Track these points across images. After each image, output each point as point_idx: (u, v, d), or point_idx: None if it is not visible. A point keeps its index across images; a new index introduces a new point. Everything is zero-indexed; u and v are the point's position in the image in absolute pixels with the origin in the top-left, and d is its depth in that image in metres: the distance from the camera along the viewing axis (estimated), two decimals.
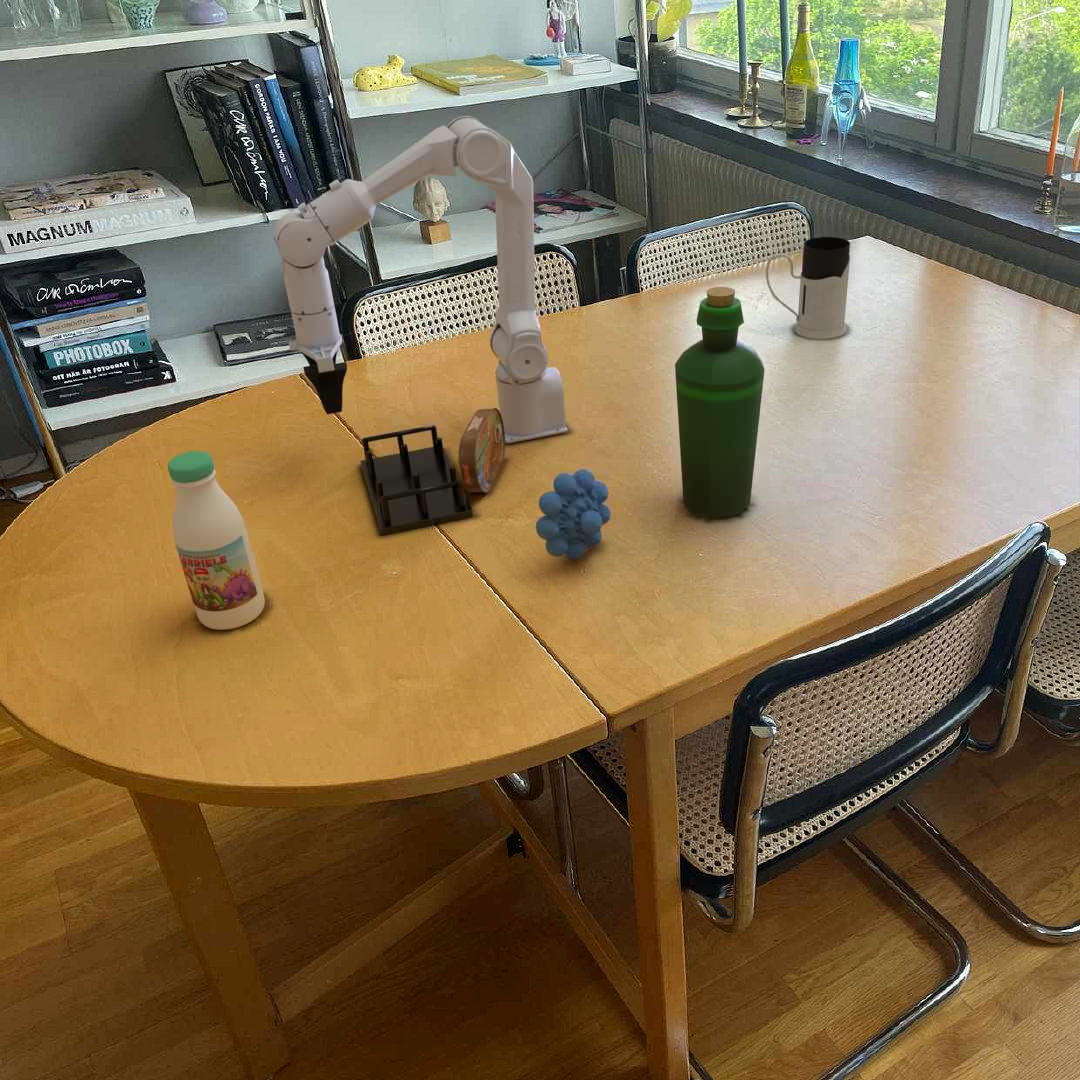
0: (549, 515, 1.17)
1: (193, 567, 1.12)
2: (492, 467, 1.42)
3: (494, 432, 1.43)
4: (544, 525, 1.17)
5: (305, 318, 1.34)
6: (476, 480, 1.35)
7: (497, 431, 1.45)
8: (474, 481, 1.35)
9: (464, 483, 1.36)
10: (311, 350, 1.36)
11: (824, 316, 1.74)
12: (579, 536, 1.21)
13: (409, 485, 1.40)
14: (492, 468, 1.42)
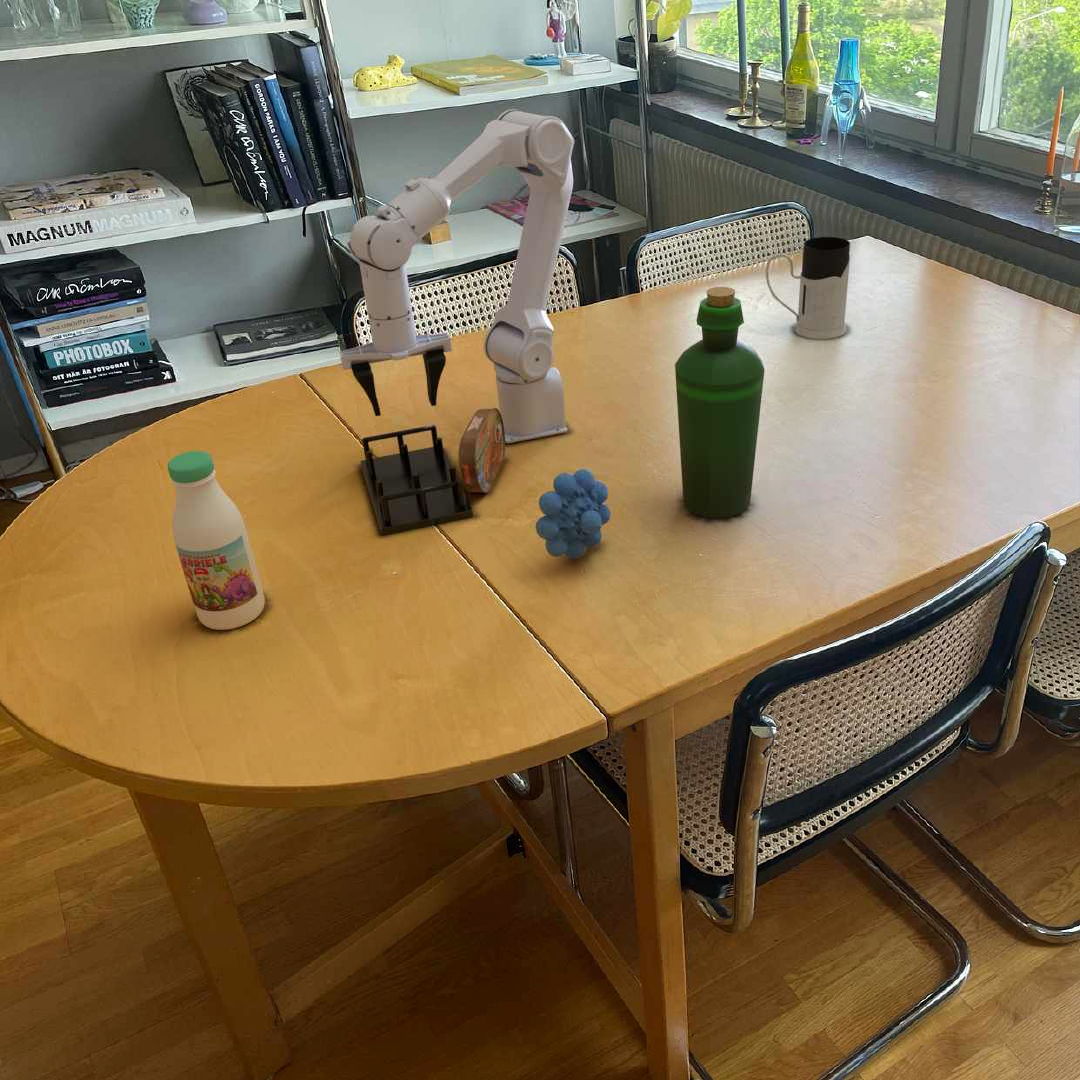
0: (549, 515, 1.17)
1: (193, 567, 1.12)
2: (492, 467, 1.42)
3: (494, 432, 1.43)
4: (544, 525, 1.17)
5: (411, 315, 1.33)
6: (476, 480, 1.35)
7: (497, 431, 1.45)
8: (474, 481, 1.35)
9: (464, 483, 1.36)
10: None
11: (824, 316, 1.74)
12: (579, 536, 1.21)
13: (409, 485, 1.40)
14: (492, 468, 1.42)
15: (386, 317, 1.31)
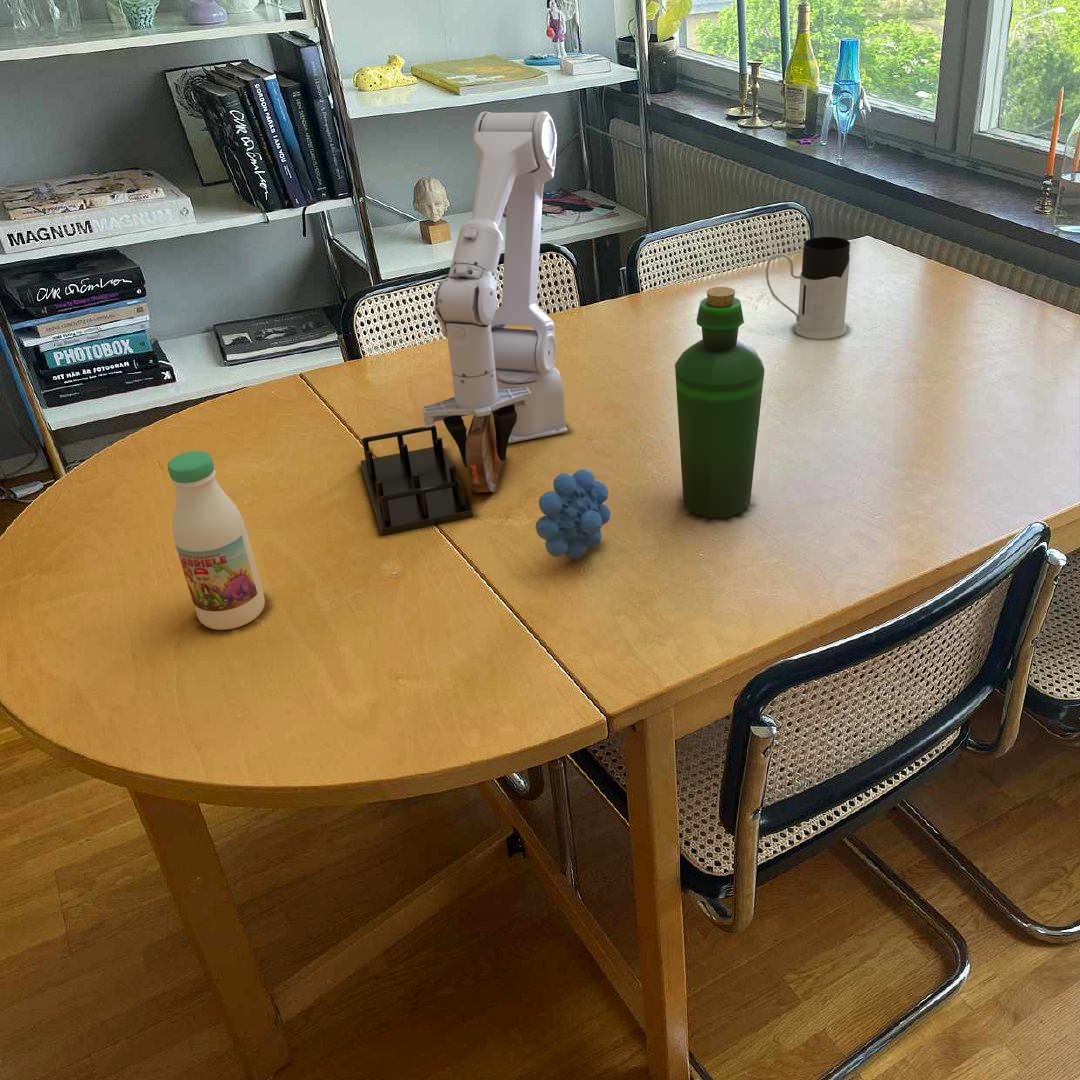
0: (549, 515, 1.17)
1: (193, 567, 1.12)
2: (494, 467, 1.42)
3: (493, 432, 1.43)
4: (544, 525, 1.17)
5: (494, 371, 1.34)
6: (484, 479, 1.35)
7: None
8: (482, 481, 1.35)
9: (472, 483, 1.36)
10: (500, 401, 1.37)
11: (824, 316, 1.74)
12: (579, 536, 1.21)
13: (409, 485, 1.40)
14: (494, 468, 1.42)
15: (483, 372, 1.32)
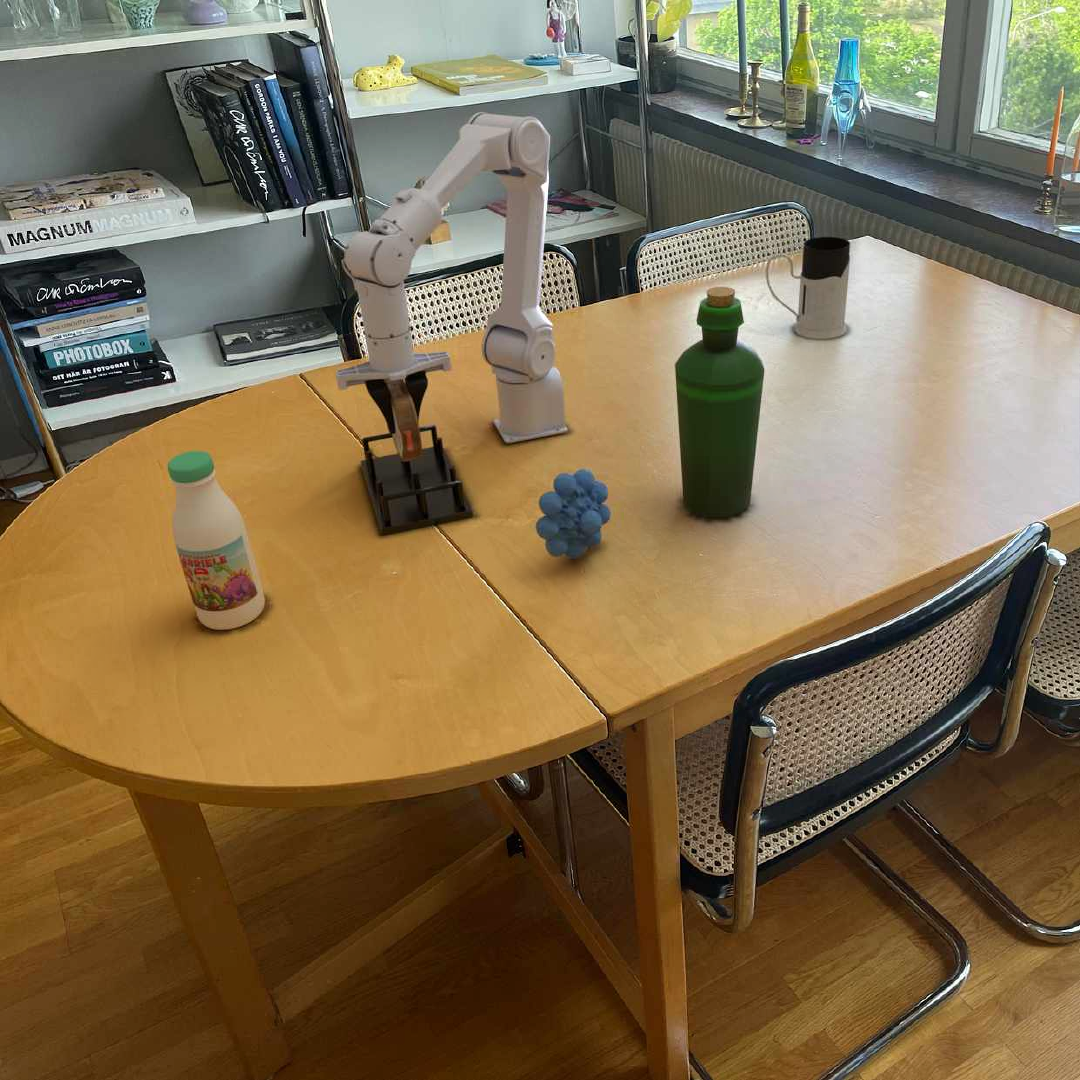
0: (549, 515, 1.17)
1: (193, 567, 1.12)
2: None
3: None
4: (544, 525, 1.17)
5: (409, 333, 1.29)
6: (419, 445, 1.30)
7: None
8: (417, 447, 1.30)
9: (405, 451, 1.30)
10: (417, 365, 1.31)
11: (824, 316, 1.74)
12: (579, 536, 1.21)
13: (409, 485, 1.40)
14: None
15: (388, 335, 1.26)
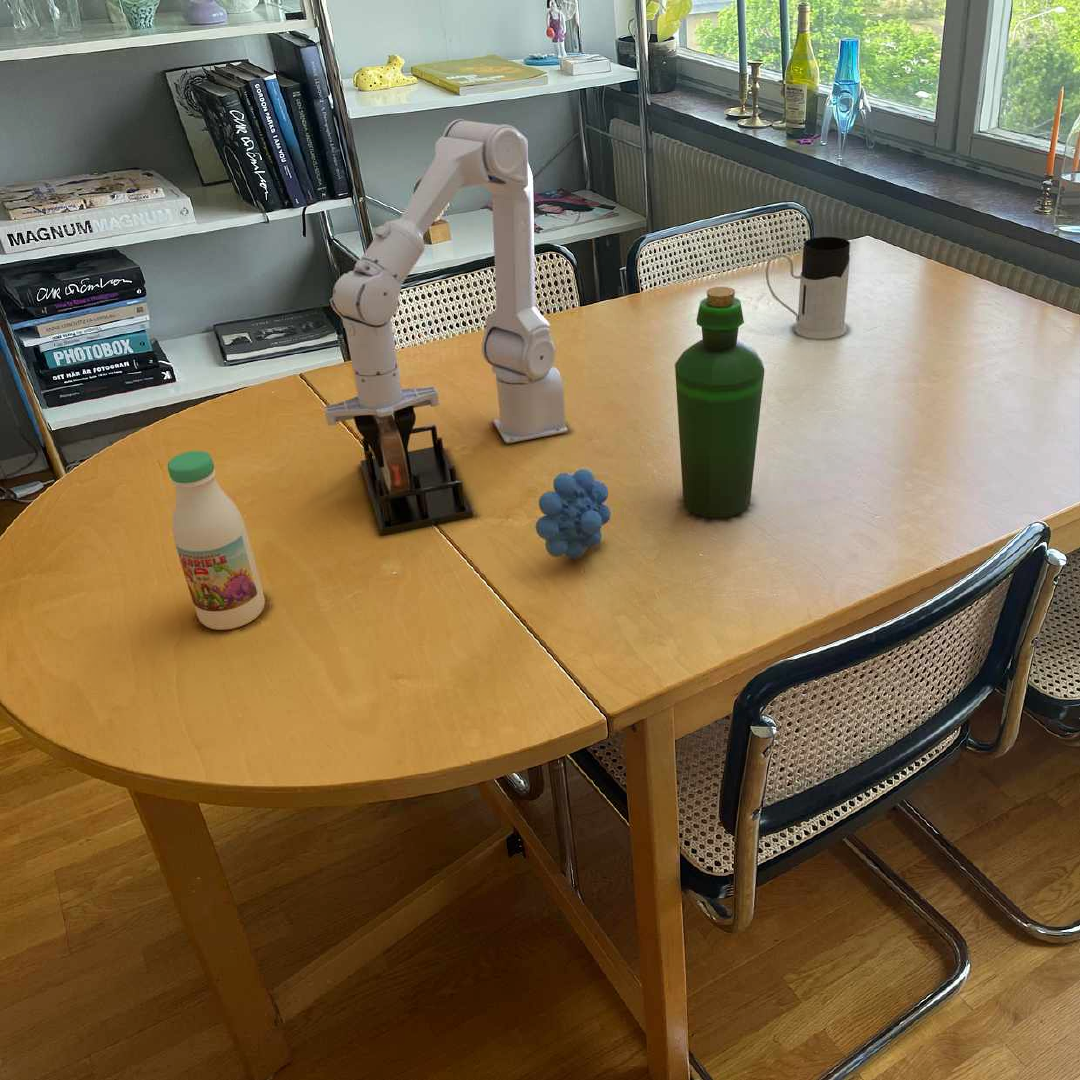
0: (549, 515, 1.17)
1: (193, 567, 1.12)
2: None
3: None
4: (544, 525, 1.17)
5: (397, 370, 1.31)
6: (406, 480, 1.32)
7: None
8: (404, 482, 1.32)
9: (393, 485, 1.32)
10: None
11: (824, 316, 1.74)
12: (579, 536, 1.21)
13: None
14: None
15: (375, 373, 1.28)
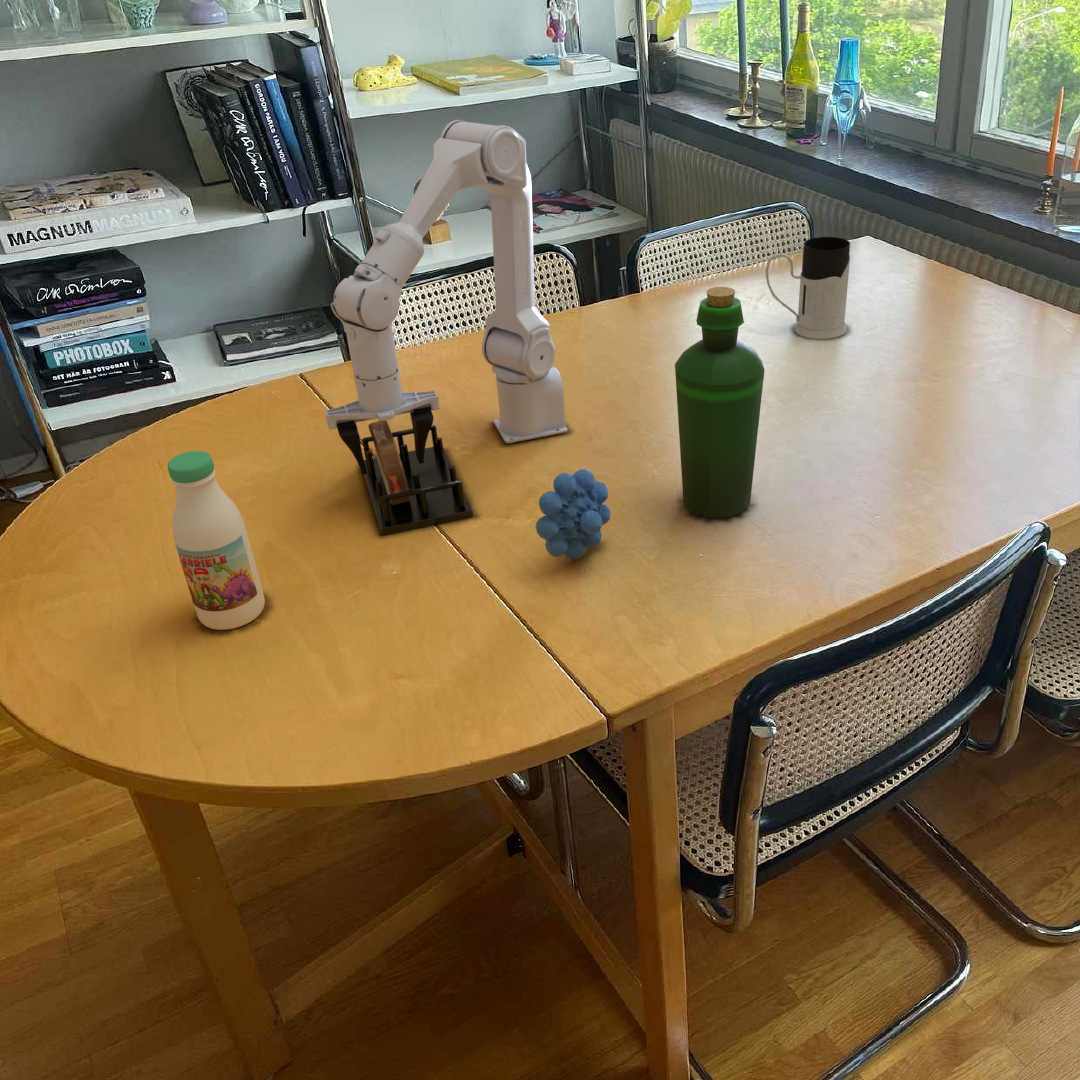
0: (549, 515, 1.17)
1: (193, 567, 1.12)
2: None
3: None
4: (544, 525, 1.17)
5: (398, 374, 1.31)
6: (405, 489, 1.32)
7: None
8: (403, 491, 1.32)
9: None
10: (405, 405, 1.33)
11: (824, 316, 1.74)
12: (579, 536, 1.21)
13: (409, 485, 1.40)
14: None
15: (376, 377, 1.29)
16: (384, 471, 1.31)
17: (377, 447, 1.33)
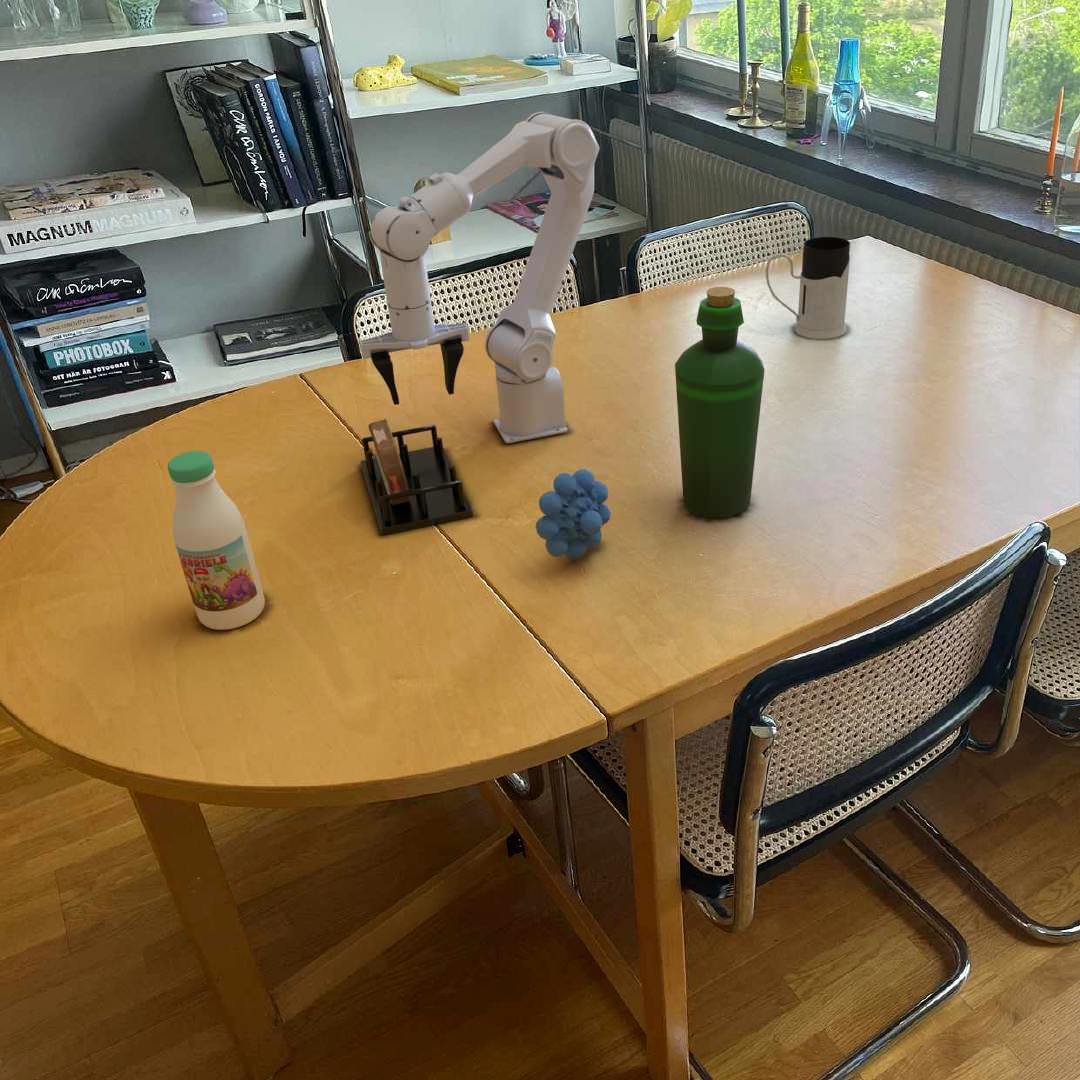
0: (549, 515, 1.17)
1: (193, 567, 1.12)
2: None
3: None
4: (544, 525, 1.17)
5: (430, 304, 1.36)
6: (405, 489, 1.32)
7: None
8: (403, 491, 1.32)
9: None
10: (437, 336, 1.38)
11: (824, 316, 1.74)
12: (579, 536, 1.21)
13: (409, 485, 1.40)
14: None
15: (404, 307, 1.33)
16: (384, 471, 1.31)
17: (377, 447, 1.33)
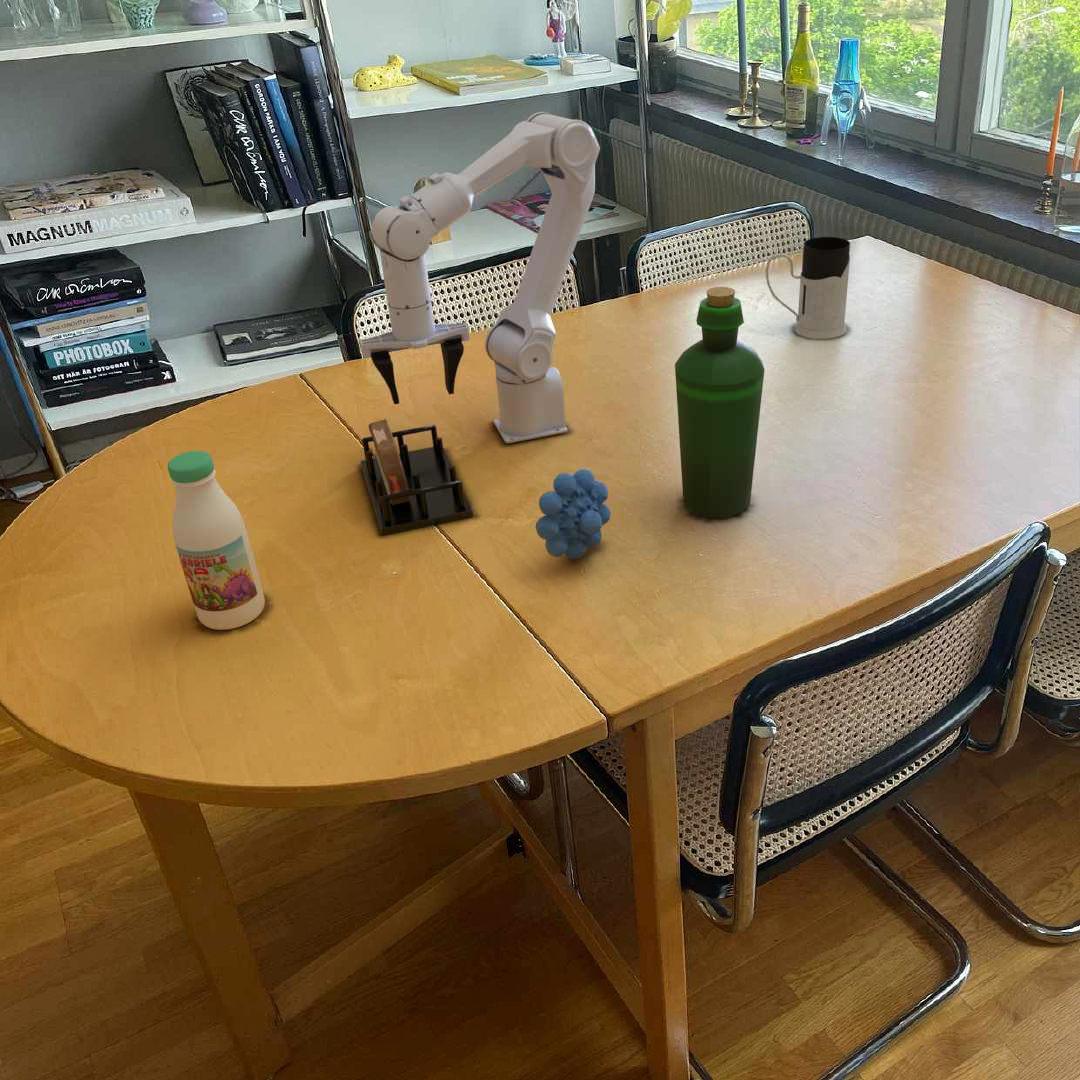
0: (549, 515, 1.17)
1: (193, 567, 1.12)
2: None
3: None
4: (544, 525, 1.17)
5: (430, 304, 1.36)
6: (405, 489, 1.32)
7: None
8: (403, 491, 1.32)
9: None
10: None
11: (824, 316, 1.74)
12: (579, 536, 1.21)
13: (409, 485, 1.40)
14: None
15: (404, 306, 1.33)
16: (384, 471, 1.31)
17: (377, 447, 1.33)
